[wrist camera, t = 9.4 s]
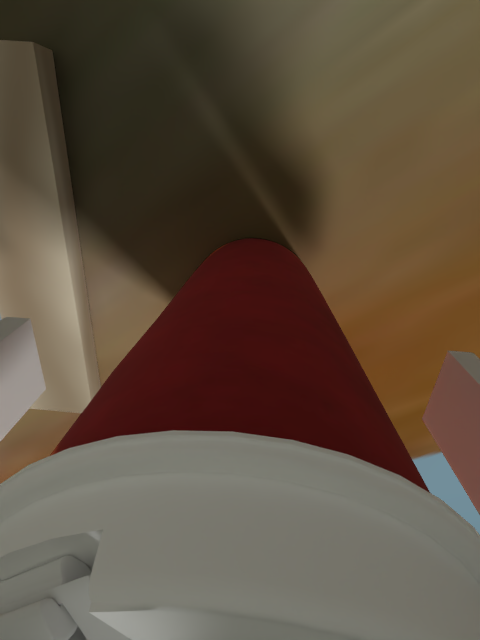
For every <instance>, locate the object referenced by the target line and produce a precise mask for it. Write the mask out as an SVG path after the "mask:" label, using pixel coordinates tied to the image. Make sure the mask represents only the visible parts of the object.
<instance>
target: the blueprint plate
mask: <svg viewBox="0 0 480 640" xmlns="http://www.w3.org/2000/svg"><path fill="white" fill-rule="evenodd" d="M5 317H17V318H30V320H31V324H32V329H33V333H34V337H35V342H36V346H37V351H38V355H39V360H40V364H41V369H42V373H43V377H44V382H45V386H46V390H45V391H44V392H43V393H42V394H41V395H40V397H39V398H38V399H37V400H36V401H35V402H34V403H33V405H32V406H31V407H30V408H31V409H41V410H52V411H63V412H73V413H82V412H83V411H84V409H85V408H86V407H87V405H88V404H89V403H90V401H91V400H92V399H93V397H94V396H95V395H96V393H97V392H98V391H99V389H100V388H101V385H100V378H99V371H98V364H97V357H96V350H95V343H94V337H93V330H92V323H91V316H90V309H89V302H88V295H87V288H86V281H85V274H84V267H83V260H82V253H81V246H80V239H79V232H78V225H77V218H76V211H75V204H74V197H73V190H72V183H71V176H70V169H69V162H68V156H67V149H66V142H65V135H64V128H63V121H62V114H61V107H60V100H59V93H58V86H57V79H56V72H55V65H54V58H53V51H52V50H50V49H48V48H46V47H43V46H41V45H39V44H36V43H34V42H26V41H9V40H0V321H1V320H2V319H4V318H5Z"/></svg>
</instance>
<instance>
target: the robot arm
mask: <svg viewBox="0 0 480 640" xmlns="http://www.w3.org/2000/svg"><path fill="white" fill-rule="evenodd" d="M45 390H46V386H45V382H44V377H43V373H42V369H41V364H40V360H39V355H38V351H37V346H36V342H35V337H34V333H33V329H32V324H31V320H30V318H17V317H5V318H4V319H2V320H1V321H0V441H1V440H2V439H3V438H4V437H5V435H6V434H7V433H8V432H9V431H10V430H11V429H12V427H13V426H14V425H15V424H16V423H17V422H18V421H19V419H20V418H21V417H22V416H23V415H24V414H25V413H26V411H27V410H28V409H29V408H30V407H31V406H32V405H33V403H34V402H35V401H36V400H37V399H38V398H39V397H40V395H41V394H42V393H43V392H44V391H45ZM422 420H423V421H424V423H425V425H426V426H427V428H428V430H429V431H430V433H431V435H432V436H433V438H434V440H435V441H436V443H437V445H438V446H439V448H440V450H441V451H442V453H443V455H444V456H445V458H446V460H447V461H448V463H449V465H450V466H451V468H452V470H453V471H454V473H455V475H456V476H457V478H458V479H459V481H460V483H461V485H462V486H463V488H464V490H465V491H466V493H467V495H468V496H469V498H470V500H471V501H472V503H473V505H474V506H475V508H476V510H477V511H478V513H479V514H480V359H479V358H478V357H477V356H476V355H475V354H474V353H470V352H457V351H448V352H447V355H446V358H445V360H444V363H443V365H442V368H441V371H440V373H439V376H438V379H437V381H436V384H435V387H434V389H433V392H432V394H431V397H430V400H429V402H428V405H427V408H426V410H425V413H424V416H423V418H422Z"/></svg>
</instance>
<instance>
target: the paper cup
mask: <svg viewBox="0 0 480 640" xmlns="http://www.w3.org/2000/svg"><path fill="white" fill-rule="evenodd" d="M0 640H480V535H479V534H478V532H477V531H476V530H475V528H473V526H472V525H470V524H469V523H468V522H467V521H466V520H465V519H463V518H462V517H461V516H460V515H459V514H458V513H456V512H455V511H454V510H453V509H452V508H451V507H449V506H448V505H447V504H446V503H445V502H444V501H442V500H441V499H439V498H438V497H436V496H434V495H432V494H431V493H430V492H429V490H428V488H427V487H426V485H425V483H424V481H423V479H422V477H421V475H420V474H419V472H418V470H417V468H416V466H415V464H414V463H413V461H412V459H411V457H410V455H409V453H408V451H407V450H406V448H405V446H404V444H403V442H402V440H401V439H400V437H399V435H398V433H397V431H396V429H395V428H394V426H393V424H392V422H391V420H390V418H389V417H388V415H387V413H386V411H385V409H384V407H383V405H382V404H381V402H380V400H379V398H378V396H377V394H376V393H375V391H374V389H373V387H372V385H371V383H370V382H369V380H368V378H367V376H366V374H365V372H364V370H363V369H362V367H361V365H360V363H359V361H358V359H357V358H356V356H355V354H354V352H353V350H352V348H351V346H350V345H349V343H348V341H347V339H346V337H345V335H344V334H343V332H342V330H341V328H340V326H339V324H338V323H337V321H336V319H335V317H334V315H333V314H332V312H331V310H330V308H329V306H328V304H327V303H326V301H325V299H324V297H323V295H322V294H321V292H320V290H319V288H318V287H317V285H316V283H315V281H314V280H313V278H312V276H311V275H310V273H309V271H308V270H307V268H306V267H305V266H304V264H303V263H302V262H301V260H300V259H299V258H298V257H297V256H296V255H295V254H294V253H292V252H291V251H290V250H288V249H287V248H285V247H284V246H282V245H280V244H278V243H275V242H272V241H269V240H265V239H257V238H249V239H241V240H236V241H233V242H230V243H228V244H226V245H224V246H222V247H220V248H218V249H217V250H216V251H214V252H213V253H212V254H211V255H210V256H208V257H207V258H206V259H205V260H204V261H203V263H202V264H201V265H200V266H199V267H198V268H197V270H196V271H195V272H194V273H193V274H192V276H191V277H190V278H189V279H188V281H187V282H186V283H185V284H184V286H183V287H182V288H181V289H180V291H179V292H178V293H177V294H176V296H175V297H174V298H173V299H172V301H171V302H170V303H169V304H168V306H167V307H166V308H165V310H164V311H163V312H162V313H161V315H160V316H159V317H158V318H157V320H156V321H155V322H154V323H153V324H152V326H151V327H150V328H149V329H148V330H147V332H146V333H145V334H144V335H143V336H142V337H141V339H140V340H139V341H138V342H137V343H136V345H135V346H134V347H133V348H132V349H131V351H130V352H129V353H128V354H127V355H126V356H125V358H124V359H123V360H122V361H121V362H120V364H119V365H118V366H117V367H116V368H115V370H114V371H113V372H112V373H111V375H110V376H109V377H108V379H107V380H106V381H105V383H104V384H103V385H102V387H101V388H100V389H99V391H98V392H97V393H96V395H95V396H94V397H93V399H92V400H91V401H90V403H89V404H88V405H87V407H86V408H85V409H84V411H83V412H82V413H81V415H80V416H79V417H78V419H77V420H76V421H75V423H74V424H73V425H72V427H71V428H70V429H69V431H68V432H67V433H66V435H65V436H64V437H63V439H62V440H61V441H60V443H59V444H58V445H57V447H56V448H55V449H54V451H53V452H52V453H51V455H50V456H49V457H47V458H44V459H42V460H39V461H37V462H35V463H32V464H30V465H28V466H26V467H25V468H23V469H22V470H21V471H19V472H18V473H16V474H15V475H13V476H12V477H10V478H9V479H7V480H6V481H4V482H3V483H1V484H0Z"/></svg>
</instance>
